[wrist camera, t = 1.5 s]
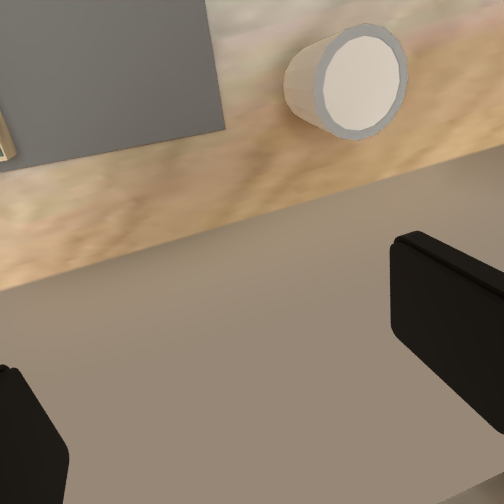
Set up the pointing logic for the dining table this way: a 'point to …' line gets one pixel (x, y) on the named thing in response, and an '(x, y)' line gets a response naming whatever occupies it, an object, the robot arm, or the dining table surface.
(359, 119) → the white cylinder
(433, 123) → the dining table surface
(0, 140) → the birch tile
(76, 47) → the rubber mat
